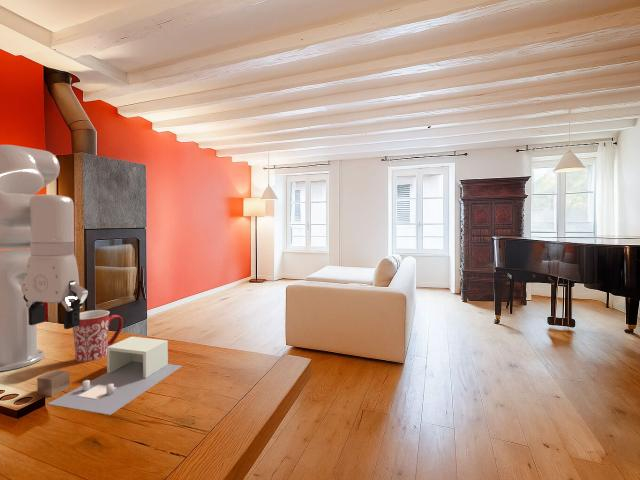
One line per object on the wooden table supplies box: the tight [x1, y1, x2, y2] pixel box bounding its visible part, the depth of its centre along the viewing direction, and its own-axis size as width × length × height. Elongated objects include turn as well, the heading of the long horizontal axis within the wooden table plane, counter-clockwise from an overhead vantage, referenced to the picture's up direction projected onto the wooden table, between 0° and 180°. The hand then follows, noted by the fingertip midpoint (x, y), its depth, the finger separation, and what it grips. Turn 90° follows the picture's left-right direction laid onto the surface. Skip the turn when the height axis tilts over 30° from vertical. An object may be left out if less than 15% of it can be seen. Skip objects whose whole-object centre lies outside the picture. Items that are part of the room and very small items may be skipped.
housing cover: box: [106, 336, 169, 378], centre depth 84 cm, size 12×8×7 cm
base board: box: [47, 361, 183, 416], centre depth 77 cm, size 16×23×3 cm
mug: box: [72, 309, 124, 363], centre depth 92 cm, size 13×9×14 cm
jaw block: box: [36, 369, 71, 397], centre depth 72 cm, size 4×4×5 cm
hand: (54, 325), depth 72 cm, fingers open, 9 cm apart
